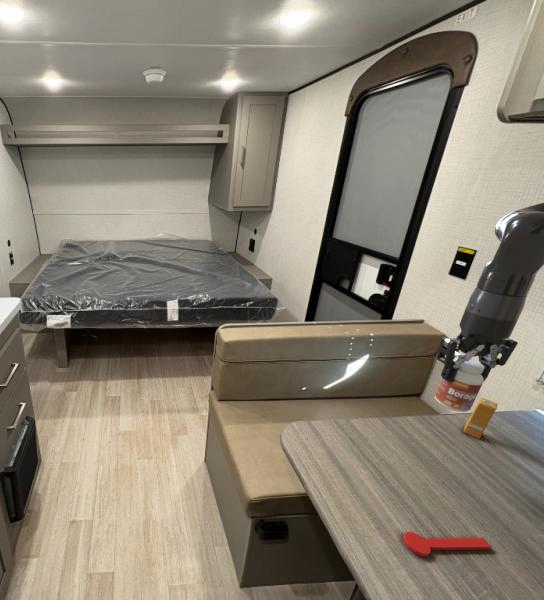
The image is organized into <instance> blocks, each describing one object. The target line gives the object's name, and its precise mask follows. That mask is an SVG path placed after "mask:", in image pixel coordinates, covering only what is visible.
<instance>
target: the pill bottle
mask: <svg viewBox="0 0 544 600" xmlns="http://www.w3.org/2000/svg"><path fill="white" fill-rule="evenodd" d="M457 359H458V357H455V358H454V359H453V361H456V360H457ZM458 368H459V369H458V372H457V374H456V376H455V379H454V381H453V382H448V381H446V380H445V379H443V378H442V377H441V380H440V381H439V384H438V387H437V389H436V392H435V394H434V400H435V401H436V402H437V403H439V404H440V406H443V407H445V408H447V409H449V410H451V411H455V412H460V413H465V412H470V410H471V409H472V407H473V405H474V403H475V400H476V399H477V396H478V394H479V393H480V391H481V389H482V386H483V384H484V382H485V381H484V378H483V376H482V375H481V374H482V372H483V370H484V366H483V365H482V364H481V362H479V361H477V360H475V359H473V358H471V359H470V360H469V361H465V362H464V363H463V364H462V365H461V366H459V367H458Z"/></svg>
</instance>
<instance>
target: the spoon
mask: <svg viewBox="0 0 544 600" xmlns="http://www.w3.org/2000/svg"><path fill="white" fill-rule="evenodd" d="M402 541H403V543H404V544H405V546H406V547H407V548H408V549H409V550H410V551H411V552H412V553H413V554H415V555H416V556H419V557H423V558H424V557H425V558H426V557H428V556H430V554H431V552H432V551H456V550H458V551H461V550H463V551H464V550H467V551H468V550H472V551H473V550H474V551H475V550H479V551H480V550H492V546H491V544H490V543H488V542H487V540H486V539H485V538H484V537H445V538H444V537H443V538H442V537H440V538H439V537H438V538H437V537H435V538H433V537H432V538H431V537H430V538H427V537H425V538H424V537H423V536H421V535H419V534H418V533H417V532H413V531H407V532H405V533H404V535H403V539H402Z"/></svg>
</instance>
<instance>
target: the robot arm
mask: <svg viewBox="0 0 544 600" xmlns="http://www.w3.org/2000/svg"><path fill="white" fill-rule="evenodd" d="M494 234H495V237H496V238H497V240H498V241H499V242H500V243H499V246H498V247H497V250H496V252H495V254H494V256H493V259H492V260H489V261H488V262H487V263H486V264H485V266H484V267H483V269H482V271H481V274H480V276H479V278H478V281H477V282H476V286H475V288H474V290H473V291H472V293H471V295H470V297H469V299H468V302H467V304H466V306H465V309H464V311H463V314H462V317H461V319H460V322H459V328H460V333H458V335H457V336H456V337H451V338H450V337H448V336H444V335H443V336H442V337H441V339H440V343H439V347H438V352H437V356H436V360H437V361H439V362H440V363H442V364H444V366H443V368H442V371H441V373H440V376H441V379H442V378H443V379H445V380H446V381H448V382H453V381H454V379H455V376H456V374H457V372H458V369H459V368H458V367H459V366H461V365H462V364H463V363H464V362H465V361H469V360H470V359H473V358H475V357H478V362H479V363H481V364H482V365H483V366H484V370H483V372H482V374H481V375H482V376H483V378H484V382H486V380H487V379H488V377H489V375H490V373H491V370H492V369H495V368H496V367H497V366H499V367H503V366H505V365H506V364H507V362H508V360H509V359H510V357H511V355H512V354H513V352H514V350H515V349H516V348H517V346H518V344H519V342H518V341H516V340H514V339H512V338H510V337H511V336H512V334H513V331H514V329H515V327H516V325H517V323H518V321H519V319H520V316H521V315H522V312H523V311H524V308H525V305H526V301H527V297H528V295H529V293H530V291H531V288H532V286H533V284H534V282H535V280H536V277H537V274H538V272H539V271H540V270H541V269H542V268H543V267H544V202H540V203H537V204H532V205H530V206H529V205H528V206H527V207H523V208H520V209H517V210H514V211H512V212H510V213H508V214H507V215H505V216H503V217H502V218H501V219H500V220H499V221H498V222H497V223H496V224H495V228H494ZM460 352H461V353H463V354H461V353H460ZM499 355H501V356H500V357H498V356H499ZM455 358H458V359H457V360H456V361H454V360H455Z"/></svg>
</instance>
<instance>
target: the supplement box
mask: <svg viewBox="0 0 544 600" xmlns="http://www.w3.org/2000/svg"><path fill="white" fill-rule="evenodd" d="M497 408H498V403H496V402H495V401H492V400H489V399H487V398H484V397H481V398H480V399H479V401H478V402H477V403H476V405H475V407H474V409H473V411H472V413H471V414H470V415H469V418H468V420H467V422H466V424H465V425H464V428H463V432H464V434H467V435H469V436H472V437H474V438H476V439H481V437H482V435H483V433H484V432H485V430H486V428H487V427H488V424H489V423H490V421H491V419H492V418H493V416H494V415H495V412H496V411H497Z"/></svg>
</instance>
